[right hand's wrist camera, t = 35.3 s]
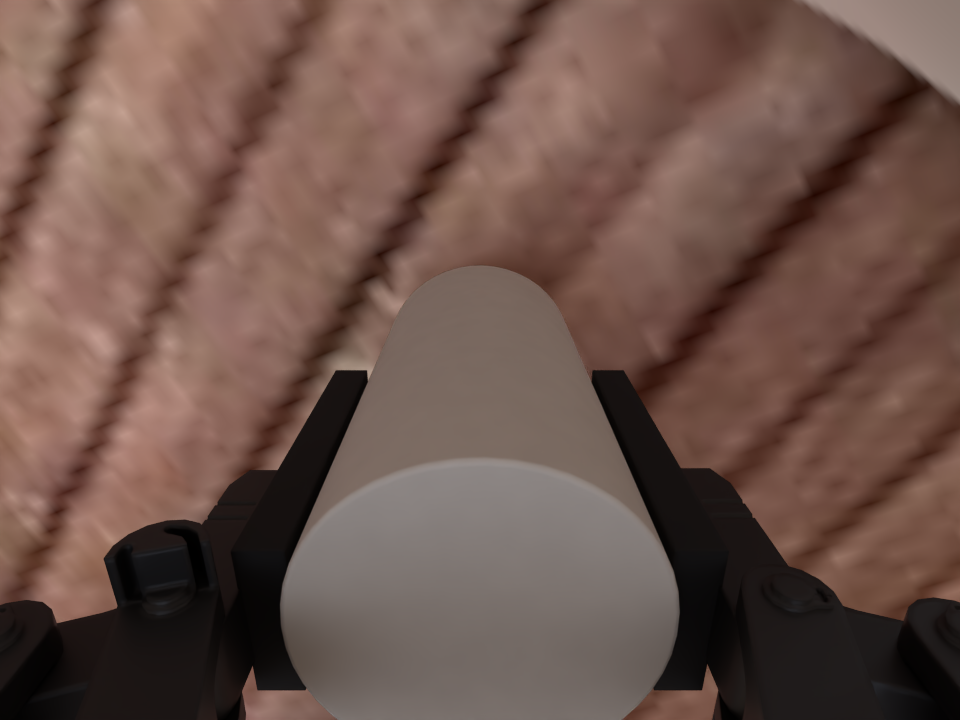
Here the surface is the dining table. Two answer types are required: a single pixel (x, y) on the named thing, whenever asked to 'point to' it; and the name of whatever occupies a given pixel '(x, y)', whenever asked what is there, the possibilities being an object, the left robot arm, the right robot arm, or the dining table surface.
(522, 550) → the can
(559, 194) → the dining table surface
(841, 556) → the dining table surface
